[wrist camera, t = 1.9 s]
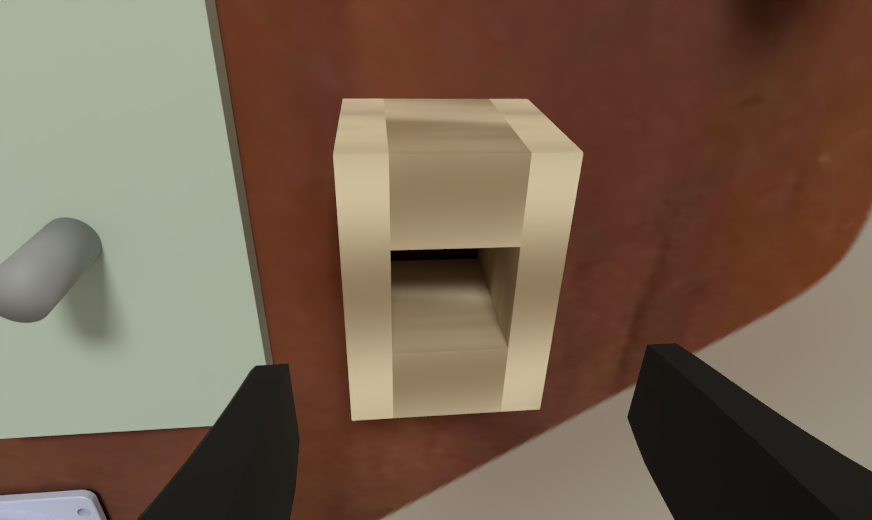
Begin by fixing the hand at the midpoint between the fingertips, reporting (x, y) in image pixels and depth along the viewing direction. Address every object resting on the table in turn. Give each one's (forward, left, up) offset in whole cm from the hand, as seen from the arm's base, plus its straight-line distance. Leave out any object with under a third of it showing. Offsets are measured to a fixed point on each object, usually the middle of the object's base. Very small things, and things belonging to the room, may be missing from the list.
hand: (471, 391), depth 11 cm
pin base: (0, +11, -8) cm, 14 cm away
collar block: (0, 0, -8) cm, 8 cm away
